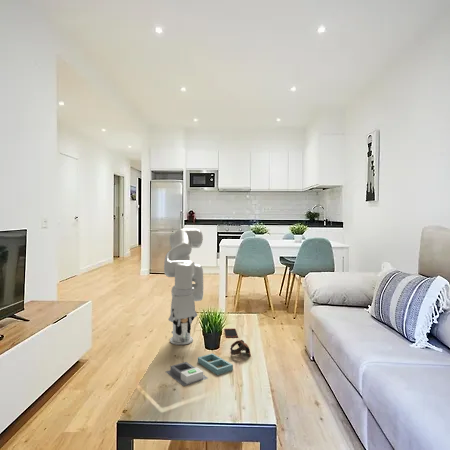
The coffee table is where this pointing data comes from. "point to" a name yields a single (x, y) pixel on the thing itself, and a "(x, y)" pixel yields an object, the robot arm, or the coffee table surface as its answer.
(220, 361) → the teal rectangular open box
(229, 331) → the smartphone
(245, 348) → the brown arched frame
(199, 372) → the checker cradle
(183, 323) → the test cell
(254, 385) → the coffee table surface
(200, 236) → the robot arm
